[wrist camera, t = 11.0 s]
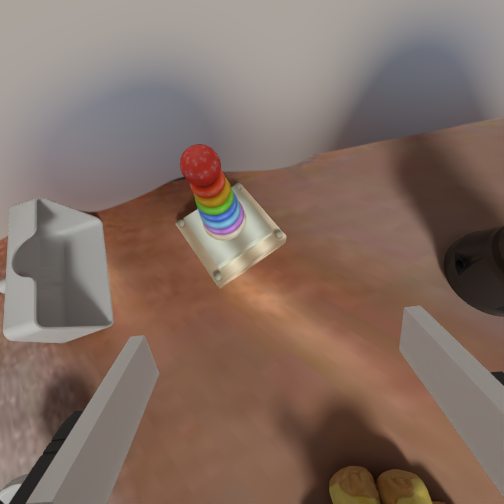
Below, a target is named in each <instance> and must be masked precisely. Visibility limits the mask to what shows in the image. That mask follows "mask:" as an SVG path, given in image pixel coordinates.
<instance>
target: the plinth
mask: <svg viewBox="0 0 504 504" xmlns="http://www.w3.org/2000/svg"><path fill="white" fill-rule="evenodd" d="M231 188H232V190H233V192H234V193H235V195H236V198H237V199H238V201H239V202H240V203H241V205H242V206H243V209H244V211H245V214H246V225H245V228H244V230H243V231H242V232H241V233H240V234H239V235H238V236H237V237H235V238H233V239H231V240H226V241H221V240H216V239H214V238H212V237H211V236H209V235H208V234H207V232H206V231H205V229H204V225H203V221H202V220H201V217H200V214H199V211H198V209H197V210H195V211H194V212H192V213H191V214H189V215H188V216H186V217H184V219H182V220H179V221H178V222H177V223H176V225H177V227H178V228H179V230H180V231H181V233H182V234H183V236H184V237H185V239H186V240H187V241H188V243H189V244H190V246H191V247H192V249H193V250H194V252H195V253H196V255H197V256H198V258H199V259H200V261H201V262H202V264H203V265H204V267H205V268H206V270H207V271H208V273H209V274H210V276H211V277H212V279H213V280H214V282H215V283H216V285H217V286H218V287H219V288H220V289H221V288H222V287H224V286H225V285H227V284H228V283H229V282H231V281H232V280H234V279H235V278H236V277H238V276H239V275H241V274H242V273H244V272H245V271H246V270H248V269H249V268H251V267H252V266H253V265H255V264H256V263H258V262H259V261H260V260H262V259H263V258H265V257H266V256H268V255H269V254H270V253H272V252H273V251H275V250H276V249H277V248H279V247H280V246H282V245H283V244H285V243H286V235H285V234H284V233H283V232H282V231H281V230H280V228H279V227H278V226H277V225H276V224H275V223H274V222H273V220H272V219H271V218H270V217H269V216H268V215H267V213H266V212H265V211H264V210H263V209H262V208H261V207H260V205H259V204H258V203H257V202H256V201H255V200H254V199H253V197H252V196H251V195H250V194H249V193H248V192H247V190H246V189H245V188H244V187H243V186H242V185H241V184H240V183H236V184H235V185H234V186H233V187H231Z"/></svg>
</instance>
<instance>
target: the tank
mask: <svg viewBox="0 0 504 504" xmlns="http://www.w3.org/2000/svg"><path fill="white" fill-rule="evenodd" d="M8 232H9V233H8V249H7V268H6V278H5V279H3V280H0V292H1V293H5V305H4V324H3V333H4V335H5V337H6V338H7V339H8V340H11V341H25V342H48V343H65V342H68V341H71V340H74V339H76V338H79V337H82V336H85V335H88V334H91V333H94V332H96V331H99V330H102V329H105V328H108V327H110V326H112V325H113V323H114V320H113V311H112V302H111V294H110V285H109V276H108V267H107V259H106V250H105V241H104V232H103V224H102V221H101V220H100V219H99V218H97V217H95V216H92V215H89V214H86V213H84V212H81V211H78V210H76V209H73V208H70V207H68V206H65V205H62V204H60V203H57V202H54V201H52V200H49V199H46V198H43V197H37V198H34V199H31V200H28V201H25V202H22V203H19V204H16V205H13V206H11V207H10V211H9V230H8Z"/></svg>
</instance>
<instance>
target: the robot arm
mask: <svg viewBox="0 0 504 504" xmlns="http://www.w3.org/2000/svg"><path fill="white" fill-rule="evenodd" d="M445 272H446V275H447V278H448V281H449V283H450V284H451V286H452V288H453V289H454V290H455V292H456V293H457V294H458V295H459V296H460V297H461V298H462V299H463V300H464V301H465V302H467V303H468V304H469V305H471V306H473V307H474V308H476V309H478V310H480V311H482V312H485V313H488V314H491V315H495V316H504V226H503V227H498V228H493V229H487V230H482V231H477V232H473V233H471V234H468V235H466V236H464V237H463V238H461V239H460V240H458V241H456V242H455V243H454V244H453V245H452V246H451V247H450V248H449V250H448V252H447V254H446V257H445ZM399 351H400V352H401V354H402V355H403V356H404V358H405V359H406V361H407V362H408V363H409V365H410V366H411V368H412V369H413V370H414V372H415V373H416V375H417V376H418V377H419V379H420V380H421V382H422V383H423V385H424V386H425V387H426V389H427V390H428V392H429V393H430V394H431V396H432V397H433V399H434V400H435V401H436V403H437V404H438V406H439V407H440V408H441V410H442V411H443V413H444V414H445V415H446V417H447V418H448V420H449V421H450V422H451V424H452V425H453V427H454V428H455V430H456V431H457V432H458V434H459V435H460V437H461V438H462V439H463V441H464V442H465V444H466V445H467V446H468V448H469V449H470V451H471V452H472V453H473V455H474V456H475V458H476V459H477V460H478V462H479V463H480V465H481V466H482V468H483V469H484V470H485V472H486V473H487V475H488V476H489V477H490V479H491V480H492V482H493V483H494V484H495V486H496V487H497V489H498V490H499V491H500V493H501V494H502V496H503V497H504V373H503V372H502V371H501V372H489V371H488V370H487V369H486V368H485V367H484V366H482V365H481V364H480V363H479V362H478V361H477V360H476V359H475V358H474V357H473V356H472V355H471V354H470V353H469V352H468V351H467V350H466V349H465V348H464V347H463V346H462V345H461V344H460V343H459V342H458V341H457V340H456V339H454V338H453V337H452V336H451V335H450V334H449V333H448V332H447V331H446V330H445V329H444V328H443V327H442V326H441V325H440V324H439V323H438V322H437V321H436V320H435V319H434V318H433V317H432V316H431V315H430V314H429V313H428V312H426V311H425V310H424V309H423V308H422V307H421V306H412V307H404V314H403V322H402V330H401V339H400V347H399ZM158 376H159V372H158V369H157V366H156V364H155V361H154V358H153V356H152V353H151V350H150V348H149V345H148V342H147V340H146V337H145V335H142V336H132V337H130V338H129V340H128V341H127V343H126V345H125V346H124V348H123V349H122V351H121V352H120V354H119V356H118V357H117V359H116V360H115V362H114V364H113V365H112V367H111V368H110V370H109V372H108V373H107V375H106V376H105V378H104V380H103V381H102V383H101V384H100V386H99V387H98V389H97V391H96V392H95V394H94V395H93V397H92V399H91V400H90V402H89V403H88V405H87V407H86V408H85V410H84V411H77V412H74V413H73V414H72V415H71V416H70V417H69V418H68V419H67V420H66V421H65V422H64V423H63V424H62V425H61V427H60V428H59V430H58V431H57V433H56V434H55V436H54V437H53V439H52V442H51V443H49V445H48V446H47V448H46V449H45V451H44V452H43V455H42V456H40V458H39V459H38V461H37V462H36V464H35V465H34V467H33V468H32V470H31V471H30V473H29V474H28V476H27V477H26V479H25V480H24V482H23V483H22V485H21V486H20V488H19V489H18V491H17V492H16V493H15V495H14V496H13V498H12V499H11V501H10V502H9V504H107V503H108V500H109V498H110V495H111V493H112V490H113V488H114V485H115V483H116V480H117V478H118V475H119V473H120V470H121V468H122V465H123V463H124V460H125V458H126V456H127V453H128V451H129V448H130V446H131V443H132V441H133V438H134V436H135V433H136V431H137V428H138V426H139V423H140V421H141V418H142V416H143V413H144V411H145V408H146V406H147V403H148V401H149V398H150V396H151V393H152V391H153V388H154V386H155V383H156V381H157V378H158ZM0 504H4V503H3V502H2V501H1V500H0Z"/></svg>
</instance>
